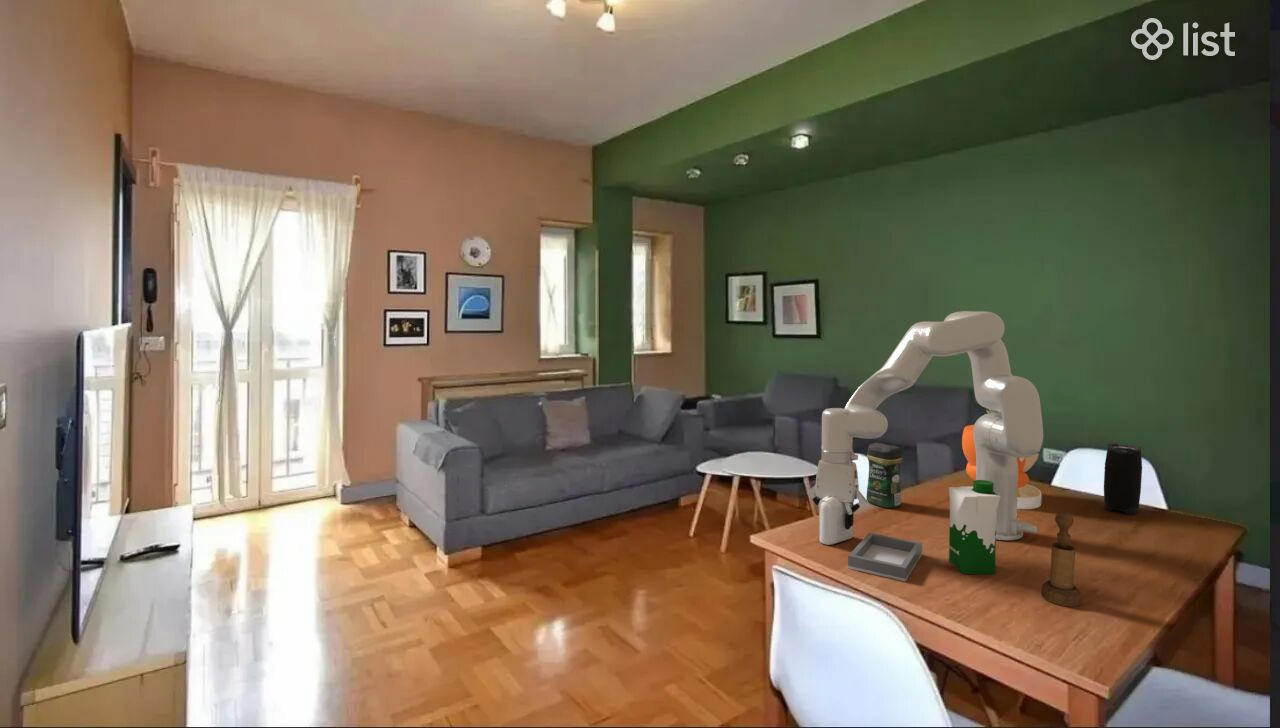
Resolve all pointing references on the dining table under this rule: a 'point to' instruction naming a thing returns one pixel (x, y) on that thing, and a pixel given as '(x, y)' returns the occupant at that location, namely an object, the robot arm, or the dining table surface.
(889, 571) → the tray
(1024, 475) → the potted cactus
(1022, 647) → the dining table surface
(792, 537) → the dining table surface
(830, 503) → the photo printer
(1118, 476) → the portable speaker
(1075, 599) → the mortar and pestle
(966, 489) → the milk carton
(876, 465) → the coffee jar
